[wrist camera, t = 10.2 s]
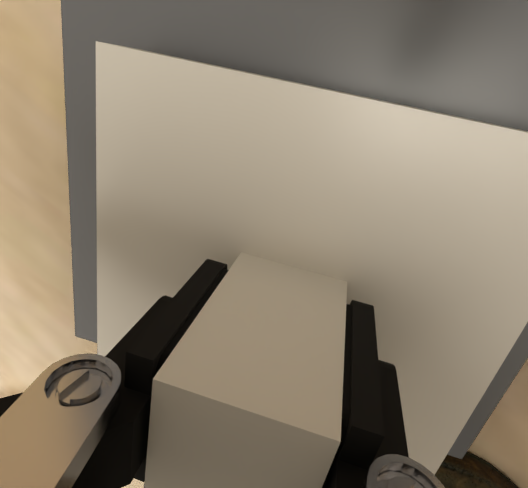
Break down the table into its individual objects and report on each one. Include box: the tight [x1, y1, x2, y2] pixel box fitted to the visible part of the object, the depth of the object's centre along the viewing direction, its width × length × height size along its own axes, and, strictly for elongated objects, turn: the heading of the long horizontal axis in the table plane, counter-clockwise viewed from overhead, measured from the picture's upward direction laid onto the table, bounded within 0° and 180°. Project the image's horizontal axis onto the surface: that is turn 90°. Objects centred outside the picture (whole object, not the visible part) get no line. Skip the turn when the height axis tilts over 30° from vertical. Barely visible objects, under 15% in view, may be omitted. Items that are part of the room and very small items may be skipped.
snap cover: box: [96, 41, 528, 488], centre depth 9 cm, size 12×12×7 cm
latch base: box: [61, 0, 528, 459], centre depth 12 cm, size 26×18×2 cm
